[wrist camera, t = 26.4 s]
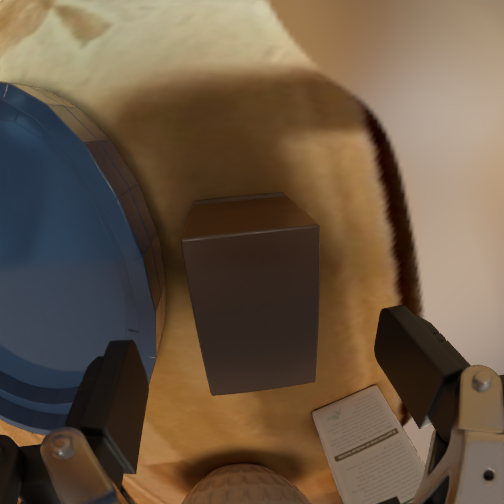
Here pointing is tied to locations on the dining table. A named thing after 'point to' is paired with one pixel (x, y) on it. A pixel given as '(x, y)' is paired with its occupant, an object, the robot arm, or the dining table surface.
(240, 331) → the dark brown block
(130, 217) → the glazed bowl
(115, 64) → the dining table surface
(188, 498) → the vase
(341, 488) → the syrup box
